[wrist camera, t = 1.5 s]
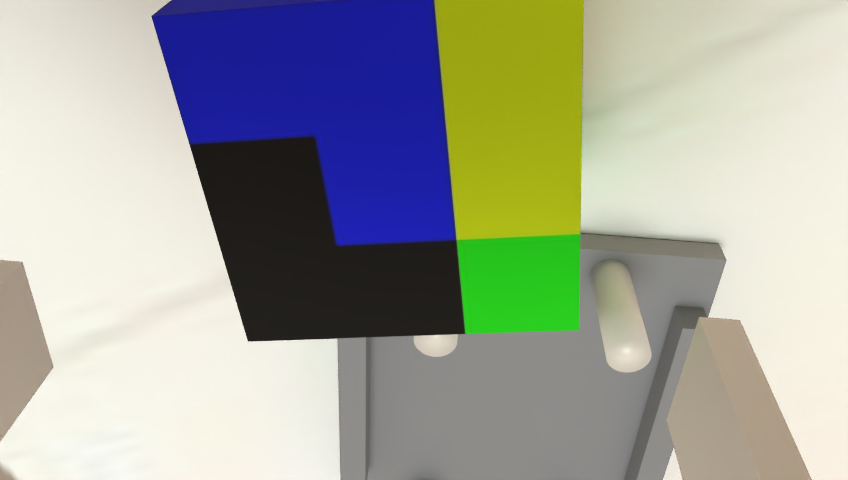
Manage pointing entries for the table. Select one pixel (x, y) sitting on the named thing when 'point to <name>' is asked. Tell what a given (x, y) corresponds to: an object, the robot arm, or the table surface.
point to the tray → (536, 380)
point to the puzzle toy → (387, 160)
